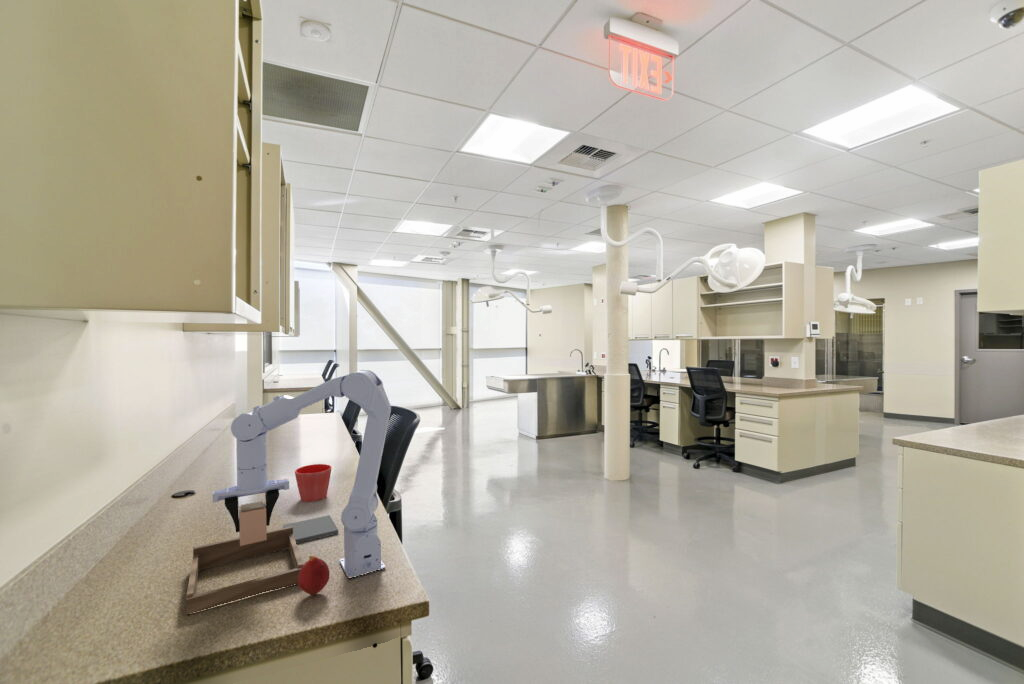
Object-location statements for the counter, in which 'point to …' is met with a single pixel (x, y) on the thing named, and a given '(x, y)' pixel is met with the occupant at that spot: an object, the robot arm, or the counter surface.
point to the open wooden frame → (234, 552)
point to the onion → (313, 575)
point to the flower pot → (313, 481)
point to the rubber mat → (313, 528)
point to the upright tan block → (252, 523)
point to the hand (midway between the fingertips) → (252, 527)
